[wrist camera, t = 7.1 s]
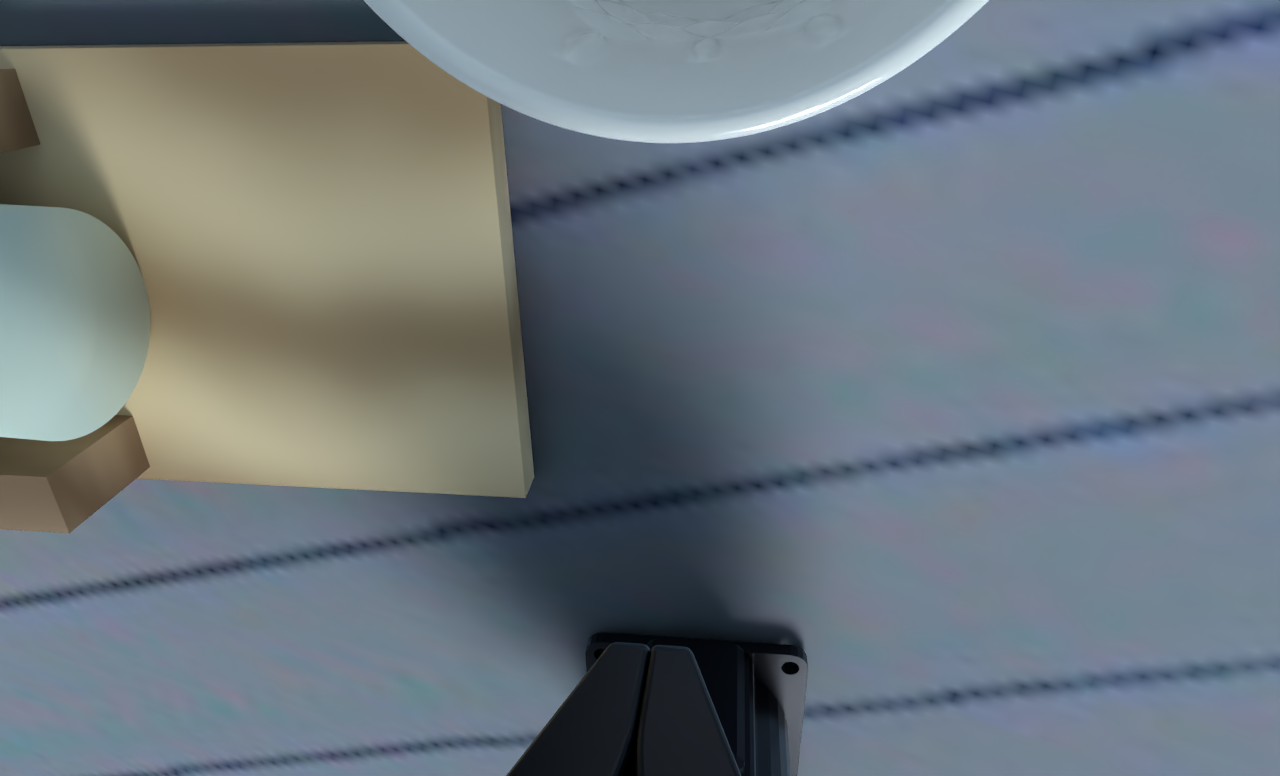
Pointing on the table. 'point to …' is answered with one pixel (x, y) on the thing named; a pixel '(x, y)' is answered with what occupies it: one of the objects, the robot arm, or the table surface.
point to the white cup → (673, 57)
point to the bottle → (66, 323)
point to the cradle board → (281, 268)
